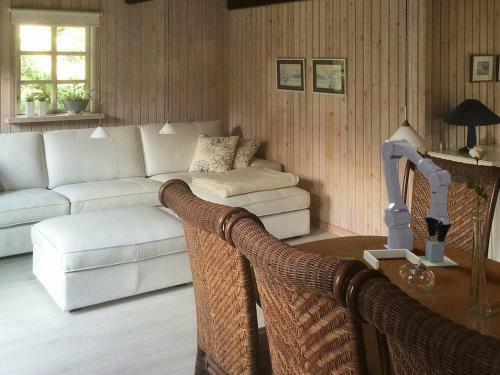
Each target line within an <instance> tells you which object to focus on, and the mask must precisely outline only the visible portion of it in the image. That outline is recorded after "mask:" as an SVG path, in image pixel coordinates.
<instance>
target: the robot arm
mask: <svg viewBox="0 0 500 375" xmlns="http://www.w3.org/2000/svg"><path fill="white" fill-rule="evenodd" d="M380 152H381V159H382V160H381V163H382V169H383V176H384V183H385V188H386V194H387V199H388V200H387V201H388V205H387V206H386V207H385V209H384V218H383V219H384V224H385V226H386V228H387V244H384V245H383V246H384V248H386V250H390V249H407V250H409V251H414V248H413V242H414V241H413V240H414V232H413V229H412V227H411V226H409V225H410V224H411V222H412V214H411V212H410V211H409V206H408V205H407V204H406V203H404V201H403V196H402V189H401V184H400V183H401V182H400V178H399V172H398V162H399V161H400V160H402V159H403V158H404V157H405V158H407V160H409V161H410V162H412V163H413V164H415V165H416V167H417V170H418V172H420V173H421V174H422V175H423V176H424V177H425V178H426V179H427V180H428V181H427V182H428V184H429V190H430V207H429V210H426V211H427V212H426V216H425V217H424V221H425V223H426V226H427V229H428V230H427V231H428V236H429V237H436V235H437V240H438V242H442V243H444V242H445V241H446V240H445V239H446V237H447V233H448V232H449V230H450V229H451V227H452V223H450V219H449V217H448V216H447V206H448V204H447V203H448V202H447V201H448V190H449V189H448V186H449V185H451V183H452V180H451V177H452V174H451V173H450V172H449V170H447V169H442V168H441V167H440V166H438V165H437V164H435V163H434V162H433V160H432V159H431V158H423V157H422V155H421V154H419V153H418V151H416V150H415V149H414V147H412V143H411V142H410V141H409V140H407V139H406V138H400V139H391V140H390V139H386V140H384V141H383V142H382V145H381V146H380Z"/></svg>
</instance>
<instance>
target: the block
mask: <svg viewBox="0 0 500 375" xmlns="http://www.w3.org/2000/svg"><path fill="white" fill-rule="evenodd" d="M424 256H425V259H426V260H428V261H429V262H430V263H435V262H444V256H445V243H444V242H438V239H437V240H425V254H424Z"/></svg>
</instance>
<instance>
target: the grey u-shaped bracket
mask: <svg viewBox="0 0 500 375" xmlns="http://www.w3.org/2000/svg"><path fill="white" fill-rule="evenodd" d="M417 256H418V255H416V254H415V253H413V252H411V250H407V249H390V250H388V249H369V250H363V259H364V260H365V261H366V262H367V263H368V264H369V265H370V266H371V267H373V269H375V270H379V269H380V268H379V266H380V265H379V262H380V261H379V260H378V259H390V258H392V259H393V258H394V259H395V258H405V259H407V260H408V261H409V262H410V263H411V264H413V265H414V264H418V265H421V266H422V263H421V259H420V258H419V257H417Z"/></svg>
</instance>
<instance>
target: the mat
mask: <svg viewBox="0 0 500 375" xmlns="http://www.w3.org/2000/svg"><path fill="white" fill-rule="evenodd" d="M416 256H417V257H419V258H420V259H421V264H423V265H424V266H426V268H427V267H429V268H430V267H447V266H448V267H449V266H459V263H456V262H455V261H453V260H452V259H451V258H449V257H447V256H446V255H444V262H435V263H430V262H429V261H428V260H426V259H425V255H416Z"/></svg>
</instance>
